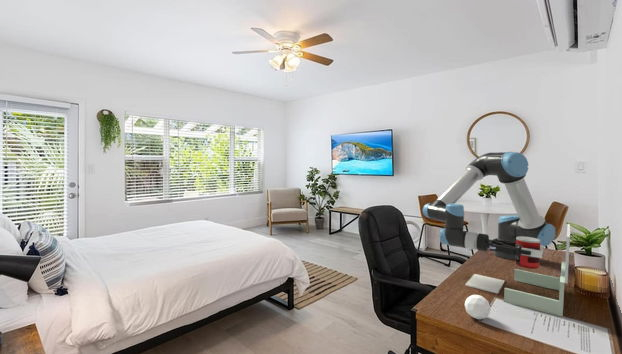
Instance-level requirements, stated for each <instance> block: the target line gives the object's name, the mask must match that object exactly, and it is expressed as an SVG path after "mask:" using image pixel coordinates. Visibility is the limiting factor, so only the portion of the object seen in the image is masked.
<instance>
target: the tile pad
mask: <svg viewBox="0 0 622 354" xmlns="http://www.w3.org/2000/svg"><path fill="white" fill-rule="evenodd" d="M504 284H505V280H503V279H499V278H495V277H489V276H487V275H486V276H485V275H482V274H477V273H474V274H472V276H471V277H470V279H468V280H467V282H466V283H465V287H469V288H474V289H478V290H482V291H486V292H489V293H493V294H497V295H498V294H499V293H500V291H501V289H502V287H503V286H504Z"/></svg>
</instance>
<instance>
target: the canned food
mask: <svg viewBox="0 0 622 354" xmlns="http://www.w3.org/2000/svg"><path fill="white" fill-rule="evenodd" d="M516 247H517V248H527V249H533V250H540V240H539V239H536V238H532V237H524V236H519V237H516ZM540 259H541V258H537V257H531V256H525V255H521V257H518V256H516V255H515V260H514V263H515V264H516V265H517V266H518V267H520V268H523V269H524V268H525V269H531V270H532V269H533V270H537V269H538V268H539V267H540Z"/></svg>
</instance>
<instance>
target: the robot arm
mask: <svg viewBox="0 0 622 354" xmlns="http://www.w3.org/2000/svg"><path fill="white" fill-rule="evenodd" d="M528 171H529V161H528V158H527V157H526V156H525V155H524V153H521V152H518V151H517V152H516V151H507V152H504V151H503V152H487V153H484V154H482V155H480V156H478V157H476V158H475V159H474V160H472V161H471V162H470V163H469V164H468V165H467V166H466V167H465V171H463V173H462V174H461V175H460V176H458V177H457V179H456V180H454V181H453V182H452V184H450V185H449V186H448V187H447V188H446V189H445V190H444V191H443V193H441V195H440V196H438V197H437V199H436V200H434V201H433V202H431V203H430V202H429V203H426V204H424V205H423V207H422V214H423V215H424V217H425V218H428V219H430V220H434V221H439V222H443V223H445V224H444V225H445V227H442V228H441V229H440V231H439V237H438V238H439V241H440V243H441V244H443V245H447V246H450V247H458V248H463V249H468V250H469V251H472V250H474V251H475V250H477V251H479V252H484V253H485V252H486V253H487V252H488V250H489V251H490V252H491V251H492V252H493V254H495V256H496V257H498V258H502V259H505V260H511V261H513V260H514V261H515V255H516V256H518V257H521V255H525V256H531V257H537V258H540V259H542V258H543V253H544V248H545V247H547V246H549V245H550V244H551V243H552V242H553V241H554V239H555V236H556V227H555V225H553V224H551V223H547V220H546V218H545V217H544V216H543V215H541V214H539V211H538V209H537V207H536V205H535V201H534V199H533V197H532V194H531V191H530V189H529V187H528V185H527V183H526V179H525V178H526V175H527V173H528ZM487 176H488V177H489V176H496V177H497V179H498V182H500V183H501V184H504V187H505V189H506V190H507V194H508V196H509V197H510V201H511V203H512V204H513V207H514V209H515V212H516V214H515V215H511V214H510V215H501V216H499V218H498V227H497V228H498V231H497V232H498V234H497V236H498V237H497V238H496V237H495V238H493V239H491V238H490V237H489V234H486V233H478V232H474V231H473V232H472V231H465V230H464V223H465V221H464V219H465V207H464V205H463V204H460V203H457V202H458V201H459V199H460V200H461V198H462V197H463V196H464V195H465V194H466V193H467V191H469V190H470V188H472V187H473V186H474V184H476V183H477V182H478V181H481V180H483V179H484V177H487ZM519 236H524V237H532V238H536V239H539V240H540V250H533V249H527V248H517V247H516V237H519Z"/></svg>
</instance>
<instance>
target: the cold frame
mask: <svg viewBox="0 0 622 354" xmlns="http://www.w3.org/2000/svg"><path fill="white" fill-rule="evenodd" d="M566 228H567V230H566V243H565V244H566V245H565V247H566V248H565V261H561V267H560V268H561V269H560V276H559V277H557V276H554V275H553V276H552V275H548V274H544V273H543V274H541V273H538V272H531V271H527V270H522V269H517V268H514V271H513V272H514V273H513V274H514V275H513V277H514V278H513V280H514V281H515V282H520V283H524V284H528V285H533V286H538V287H542V288H545V289H551V290H555V291H559V293H558V299H555V298H551V297H546V296H543V295H542V296H541V295H537V294H534V293H529V292H525V291H521V290H516V289H513V288H508V287H504V289H503V290H504V292H503V294H504V295H503V302H504V303H509V304H513V305H515V306H516V305H517V306H520V307H524V308H527V309H532V310H536V311H539V312H543V313H547V314H551V315H554V316H558V317H562V318H563V316H564V315H563V314H564V302H565V301H564V299H565V284H568V283H569V282H568V281H569V280H568V278H569V262H570V259H569V258H570V244H571V243H570V242H571V224H570V223H567V227H566Z"/></svg>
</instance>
